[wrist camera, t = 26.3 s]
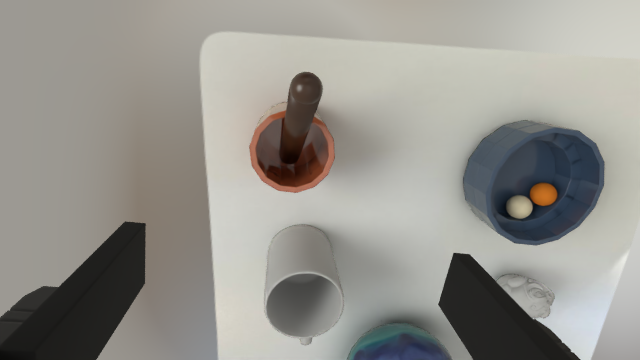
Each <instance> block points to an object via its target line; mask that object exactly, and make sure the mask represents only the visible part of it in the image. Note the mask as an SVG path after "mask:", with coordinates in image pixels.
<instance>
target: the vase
mask: <svg viewBox="0 0 640 360" xmlns="http://www.w3.org/2000/svg"><path fill="white" fill-rule="evenodd" d="M347 360H453V359H452V357H451V356H450V354H449V352H448V351H447V350H446V348H445V347H444V346H443V345H442V344H441V343H440V341H439V340H437V339H436V338H435V337H434V336H433V335H431V334H430V333H429V332H427V331H425V330H423V329H421V328H419V327H417V326H413V325H410V324H405V323H390V324H385V325H381V326H378V327H376V328H374V329H372V330H370V331H368V332H367V333H365V334H364V335H363V336H362V337H361V338H360V339H359V340H358V341H357V342H356V343H355V345H354V346H353V347H352V349H351V351H350V353H349V355H348V357H347Z"/></svg>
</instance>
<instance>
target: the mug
mask: <svg viewBox="0 0 640 360" xmlns="http://www.w3.org/2000/svg"><path fill="white" fill-rule="evenodd" d="M343 308H344V295H343V291H342V287H341V283H340V279H339V275H338V271H337V268H336V264H335V260H334V255H333V251H332V247H331V244H330V241H329V240H328V238H327V237H326V236H325V234H324V233H322V232H321V231H320V230H318V229H317V228H315V227H312V226H308V225H294V226H290V227H287V228H285V229H283V230H282V231H280V232H279V233H278V234H277V235H276V236H275V237H274V238H273V240H272V241H271V243H270V245H269V248H268V254H267V270H266V282H265V294H264V311H265V315H266V318H267V320H268V322H269V323H270V324H271V326H272V327H273V328H274V329H276V330H277V331H278V332H280V333H282V334H284V335H286V336H289V337H293V338H299V339H300V343H301V344H302V345H309V344H310V343H311V342H312V337H315V336H318V335H321V334H323V333H325V332H326V331H328V330H329V329H330V328H332V327H333V326H334V325H335V324H336V323H337V321H338V320H339V318H340V316H341V314H342V312H343Z"/></svg>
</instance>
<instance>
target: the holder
mask: <svg viewBox="0 0 640 360" xmlns="http://www.w3.org/2000/svg"><path fill="white" fill-rule="evenodd" d="M286 107H287V102H285V103H280V104H277V105H275V106H273V107H271V108H270V109H269V110H268V111H267V112H266V113H265V114H264V115H263V116H262V117H261V118H260V120H259V122H258V125H257V127H256V129H255V132H254V135H253V138H252V141H251V144H250V147H249V148H250V156H251V163H252V167H253V168H254V170H255V171H256V173H257V174H258V176H259V177H260V179H261V180H262V181H263V182H265V183H266V184H268V185H270V186H271V187H273V188H275V189H276V190H278V191H285V192H294V193H296V192H301V191H304V190H307V189H310V188H313V187H315V186H316V185H317V184H318V183H319V182H320V181H322V180H323V179H324V178H325V177H326V176H327V175H328V173H329V171H330V168H331V166H332V163H333V161H334V158H335V153H334V140H333V137H332V136H331V134H330V132H329V130H328V129H327V127H326V125H325V123H324V122H323V120H322V119H321V118H320V116H319V115H318V113H317V112H316V113H315V115H314V118H313V121H312V124H311V127H310V129H309V132H308V135H307V138H306V141H305V143H304V146H303V149H302V152H301V155H300V157H299V160H298V161H297V162H296V163H294V164H290V165H289V164H285V163H283V162H282V161H281V159H280V156H279V152H280V145H281V139H282V133H283V126H284V120H285V114H286Z"/></svg>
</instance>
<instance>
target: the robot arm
mask: <svg viewBox="0 0 640 360" xmlns="http://www.w3.org/2000/svg"><path fill="white" fill-rule="evenodd" d="M145 226H146V224H145V223H135V222H124V223H123V224H122V225H121V226H120V227H119V228H118V229H117V230H116V231H115V232H114V233H113V234H112V235H111V236H110V237H109V238H108V239H107V240H106V241H105V242H104V243H103V244H102V245H101V246H100V247H99V248H98V249H97V250H96V251H95V252H94V253H93V254H92V255H91V256H90V257H89V258H88V259H87V260H86V261H85V262H84V263H83V264H82V265H81V266H80V267H79V268H78V269H77V270H76V271H75V272H74V273H73V274H72V275H71V276H70V277H69V278H68V279H67V280H66V281H64V283H62V284H61V286H59V287H48V286H43V287H41V288H39V289H37V290H35V291H33V292H31V293H29V294H27V295H25V296H24V297H23V298H22V299H21V300H19V301H18V302H17V303H16V304H15V305H14V306H13V307H12V308H11V309H10V311H7V312H6V313H5V314H4V315H3V316H1V317H0V360H96V359H97V358H98V356H99V355H100V353H101V351H102V350H103V348H104V347H105V345H106V344H107V342H108V340H109V339H110V337H111V336H112V334H113V333H114V331H115V329H116V328H117V326H118V325H119V323H120V322H121V320H122V318H123V317H124V315H125V314H126V312H127V310H128V309H129V307H130V306H131V304H132V303H133V301H134V299H135V298H136V296H137V295H138V293H139V292H140V290H141V289H142V287H143V285H144V284H145ZM438 305H439V307H440V308H441V310H442V311H443V313H444V314H445V316H446V318H447V319H448V321H449V322H450V324H451V325H452V327H453V328H454V330H455V332H456V333H457V335H458V336H459V338H460V339H461V341H462V342H463V344H464V346H465V347H466V349H467V350H468V352H469V353H470V355H471V356H472V358H473V360H580V359H579V358H578V357H577V356H576V355H575V354H574V353H573V352H571V350H570V349H569V348H568V347H567V346H566V345H565V344H564V343H562V341H561V340H560V339H559V338H558V337H557V336H556V335H555V334H554V333H553V332H552V331H551V330H550V329H549V328H547V327H546V326H544V325H543V324H541V323H540V322H538V321H537V320H536V319H532V318H531V317H530V316H529V315H528V314H527V313H526V312H525V311H524V310H523V309H522V308H521V307H520V306H519V304H518V303H517V302H516V301H515V300H514V299H513V298H512V297H511V296H510V295H509V294H508V293H507V292H506V291H505V290H504V289H503V288H502V287H501V286H500V285H499V284H498V283H497V282H496V281H495V280H494V279H493V278H492V277H491V276H490V275H489V274H488V273H487V272H486V271H485V270H484V269H483V268H482V267H481V266H480V265H479V264H478V263H477V262H476V260H475V259H474V258H473V257H472V256H471V255H470V254H460V253H453V257H452V260H451V264H450V267H449V270H448V274H447V277H446V280H445V284H444V287H443V291H442V294H441V297H440V301H439V304H438Z"/></svg>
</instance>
